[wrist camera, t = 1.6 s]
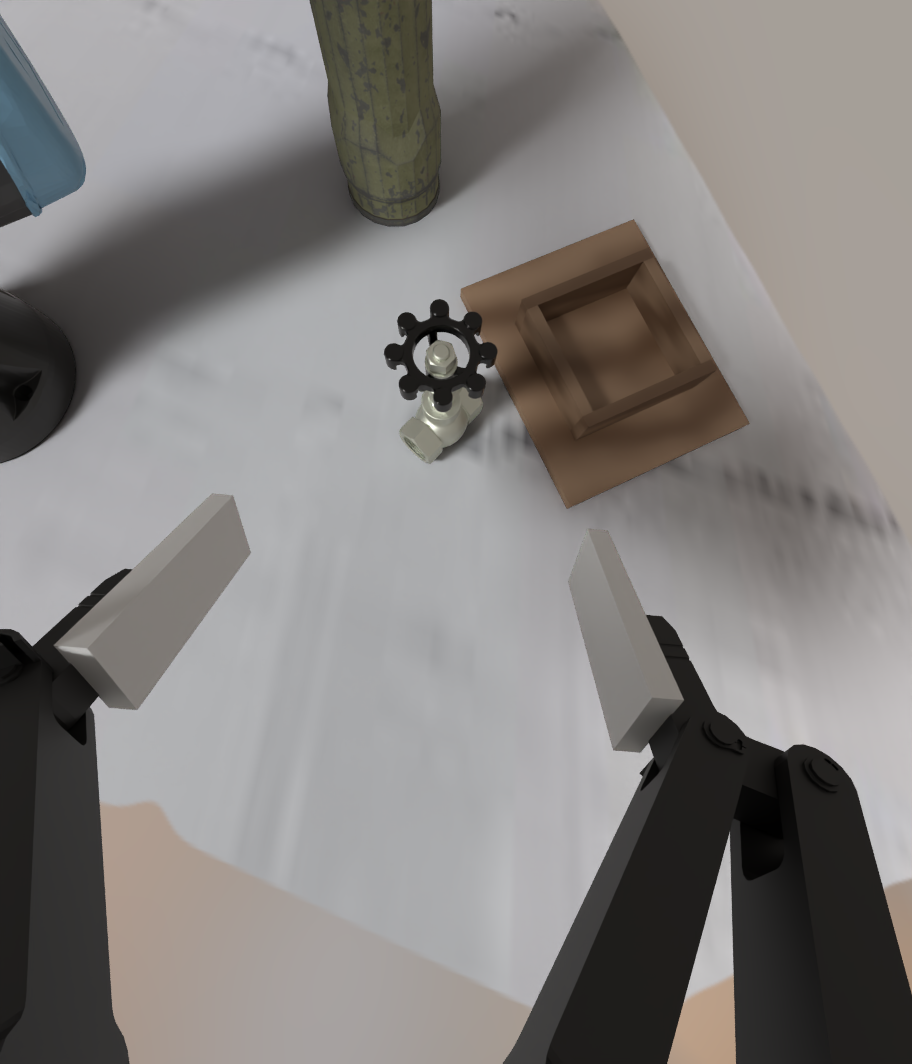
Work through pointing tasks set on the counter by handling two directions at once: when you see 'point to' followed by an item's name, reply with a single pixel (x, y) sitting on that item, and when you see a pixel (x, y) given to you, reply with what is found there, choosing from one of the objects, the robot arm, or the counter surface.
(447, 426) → the valve
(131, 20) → the counter surface
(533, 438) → the dock board
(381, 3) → the thermos
